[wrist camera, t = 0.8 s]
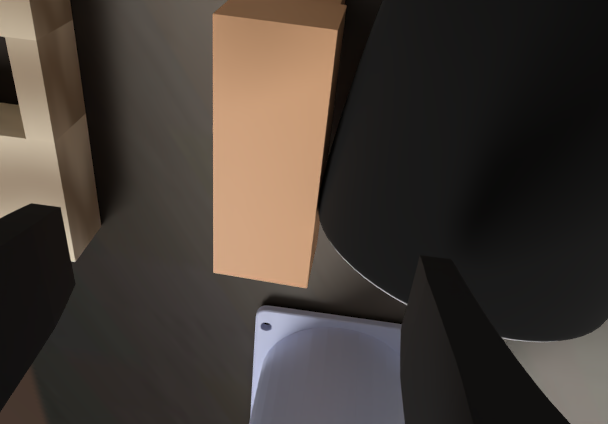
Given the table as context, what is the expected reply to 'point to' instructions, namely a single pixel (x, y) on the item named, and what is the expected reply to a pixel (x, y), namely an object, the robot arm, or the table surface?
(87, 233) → the rail
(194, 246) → the table surface
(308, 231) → the clip
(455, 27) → the black cylindrical speaker
